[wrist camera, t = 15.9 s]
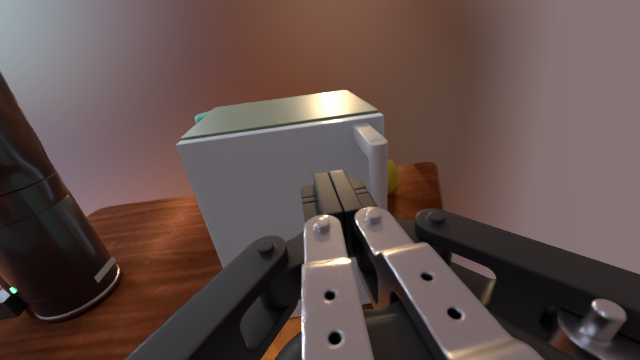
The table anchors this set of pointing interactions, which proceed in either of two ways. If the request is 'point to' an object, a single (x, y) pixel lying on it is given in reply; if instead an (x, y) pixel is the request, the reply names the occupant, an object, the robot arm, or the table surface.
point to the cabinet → (279, 113)
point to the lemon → (392, 176)
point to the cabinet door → (279, 178)
